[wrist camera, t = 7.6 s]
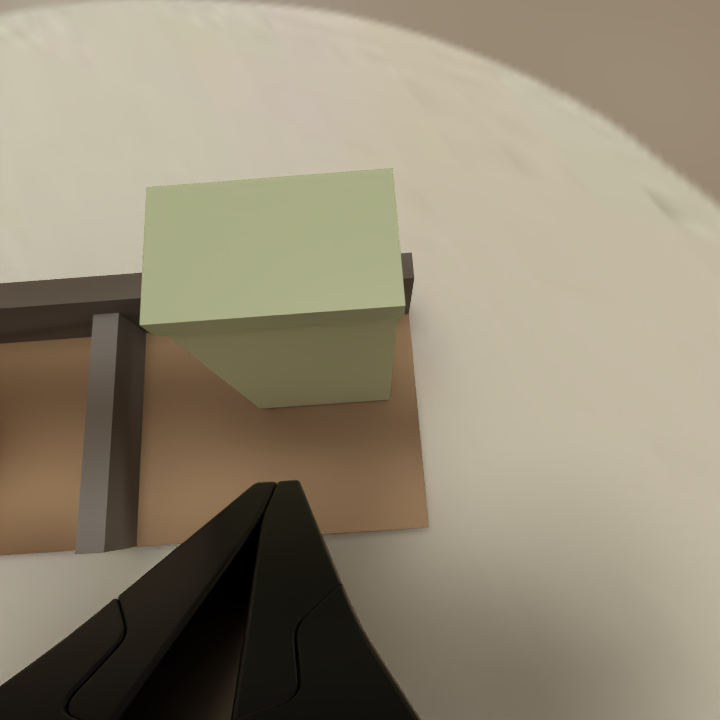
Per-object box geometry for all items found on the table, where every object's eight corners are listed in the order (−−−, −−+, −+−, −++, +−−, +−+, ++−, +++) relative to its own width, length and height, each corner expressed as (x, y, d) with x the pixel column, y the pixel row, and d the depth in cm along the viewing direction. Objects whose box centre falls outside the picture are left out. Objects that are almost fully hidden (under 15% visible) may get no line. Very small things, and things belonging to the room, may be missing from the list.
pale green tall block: (392, 402, 17) (405, 305, 9) (257, 411, 17) (139, 324, 9) (386, 326, 18) (392, 168, 9) (256, 335, 18) (146, 187, 9)
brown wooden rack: (424, 525, 18) (443, 534, 12) (-131, 561, 18) (-344, 586, 13) (403, 293, 20) (411, 216, 15) (-90, 329, 20) (-258, 267, 15)
